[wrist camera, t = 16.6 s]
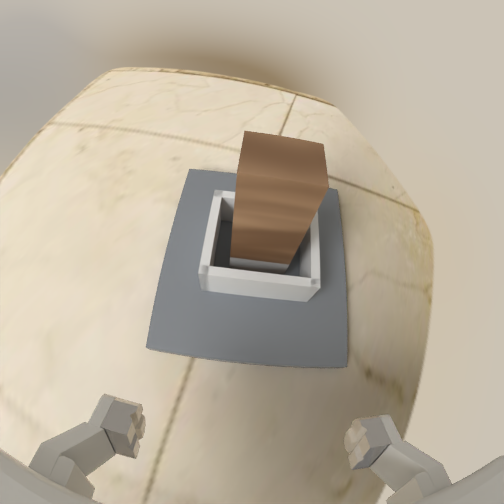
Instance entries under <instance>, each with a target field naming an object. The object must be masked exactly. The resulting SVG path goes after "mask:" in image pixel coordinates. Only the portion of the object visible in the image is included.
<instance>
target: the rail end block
mask: <svg viewBox="0 0 504 504" xmlns="http://www.w3.org/2000/svg"><path fill="white" fill-rule="evenodd" d="M328 188H329V184H328V176H327V167H326V160H325V152H324V145H323V144H321V143H316V142H311V141H306V140H301V139H295V138H289V137H284V136H277V135H271V134H264V133H257V132H250V131H245V132H244V137H243V142H242V148H241V153H240V159H239V165H238V170H237V179H236V190H235V201H234V213H233V225H232V238H231V251H230V264H229V268H230V269H238V270H246V271H254V272H263V273H271V274H280V275H284V274H285V272H286V270H287V268H288V266H289V264H290V263H291V261H292V259H293V257H294V255H295V253H296V251H297V249H298V247H299V245H300V243H301V242H302V240H303V238H304V236H305V234H306V232H307V230H308V228H309V226H310V224H311V222H312V220H313V218H314V216H315V214H316V212H317V210H318V208H319V206H320V204H321V202H322V200H323V198H324V196H325V194H326V192H327V190H328Z"/></svg>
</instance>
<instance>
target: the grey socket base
mask: <svg viewBox="0 0 504 504" xmlns="http://www.w3.org/2000/svg"><path fill="white" fill-rule="evenodd" d="M236 179H237V174H234V173H226V172H217V171H207V170H196V169H189V172H188V175H187V178H186V181H185V185H184V188H183V191H182V194H181V198H180V201H179V204H178V208H177V211H176V215H175V219H174V222H173V226H172V229H171V233H170V237H169V241H168V245H167V249H166V253H165V257H164V261H163V265H162V269H161V274H160V278H159V282H158V287H157V292H156V296H155V301H154V306H153V311H152V316H151V321H150V327H149V332H148V338H147V344H146V348H148V349H150V350H155V351H160V352H166V353H171V354H177V355H183V356H189V357H195V358H202V359H209V360H217V361H225V362H234V363H243V364H254V365H266V366H281V367H302V368H344V367H347V297H346V276H345V261H344V248H343V236H342V226H341V217H340V208H339V200H338V192H337V190H336V189H331V188H328V190H327V192H326V194H325V196H324V198H323V200H322V202H321V204H320V206H319V208H318V210H317V212H316V214H315V216H314V218H313V220H312V222H311V224H310V226H309V228H308V230H307V232H306V234H305V236H304V238H303V240H302V242H301V243H300V245H299V247H298V249H297V251H296V253H295V255H294V257H293V259H292V261H291V263H290V264H289V266H288V268H287V270H286V272H285V274H284V275H280V274H271V273H263V272H254V271H246V270H238V269H230V268H229V264H230V251H231V238H232V225H233V213H234V201H235V190H236Z"/></svg>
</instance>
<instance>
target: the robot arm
mask: <svg viewBox="0 0 504 504" xmlns="http://www.w3.org/2000/svg"><path fill="white" fill-rule="evenodd" d="M142 411H143V408H142V404H138V403H135V402H131V401H127V400H124V399H121V398H117V397H114V396H111V395H107V394H104V395H103V396H102V397H101V398H100V400H99V402H98V404H97V406H96V408H95V410H94V412H93V414H92V416H91V418H90V420H89V422H88V423H86V422H83V423H81V424H79V425H78V426H76V427H74V428H72V429H70V430H68V431H66V432H64V433H62V434H60V435H58V436H56V437H54V438H51V439H49V440H47V441H45V442H43V443H41V445H40V446H39V448H38V450H37V452H36V454H35V455H34V457H33V459H32V461H31V463H30V465H29V467H27V466H26V465H24V464H23V463H21V462H20V461H18V460H17V459H15V458H14V457H12V456H11V455H9V454H8V453H6V452H5V451H4V450H2V449H1V448H0V504H103V503H100V502H97V501H95V500H92V496H93V493H94V490H95V488H94V486H93V485H92V484H91V482H90V481H89V480H88V479H87V478H86V476H87V475H89V474H90V473H91V472H93V471H94V470H96V469H97V468H98V467H100V466H101V465H102V464H104V463H105V462H106V461H108V460H109V459H110V458H112V457H113V456H114V455H116V454H120V455H123V456H127V457H131V458H135V459H136V457H137V454H138V451H139V448H140V444H139V441H138V440H140V439H141V438H143V435H144V432H145V416H143V415H142ZM351 424H352V427H351V428H350V429H348V430H347V432H346V433H345V436H344V446H345V450H346V451H348V452H349V453H350V454H349V457H348V460H349V463H350V467H351V470H355V469H361V468H367V467H370V469H371V470H372V471H373V472H374V473H375V474H376V475H377V476H378V477H379V478H380V479H382V480H383V481H384V482H385V483H386V484H387V485H388V486H389V487H390V488H392V489H393V490H394V491H395V493H394V494H393V495H392V496H390V497H389V498H388V499H387V504H504V456H500V457H498V458H496V459H495V460H493V461H492V462H490V463H489V464H487V465H486V466H484V467H482V468H481V469H480V470H478V471H476V472H474V473H472V474H471V475H469V476H467V477H465V478H464V479H462V480H460V481H458V482H456V483H454V484H452V483H451V481H450V479H449V477H448V475H447V473H446V471H445V469H444V467H443V465H442V464H441V463H440V462H438V461H436V460H435V459H433V458H431V457H430V456H428V455H427V454H425V453H424V452H422V451H420V450H419V449H417V448H416V447H414V446H413V445H411V444H409V443H408V442H406V441H402V439H401V437H400V435H399V432H398V430H397V428H396V426H395V424H394V422H393V420H392V418H391V416H390V415H389V414H385V415H379V416H370V417H362V418H356V419H354V420H353V422H352V423H351ZM115 453H116V454H115Z"/></svg>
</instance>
